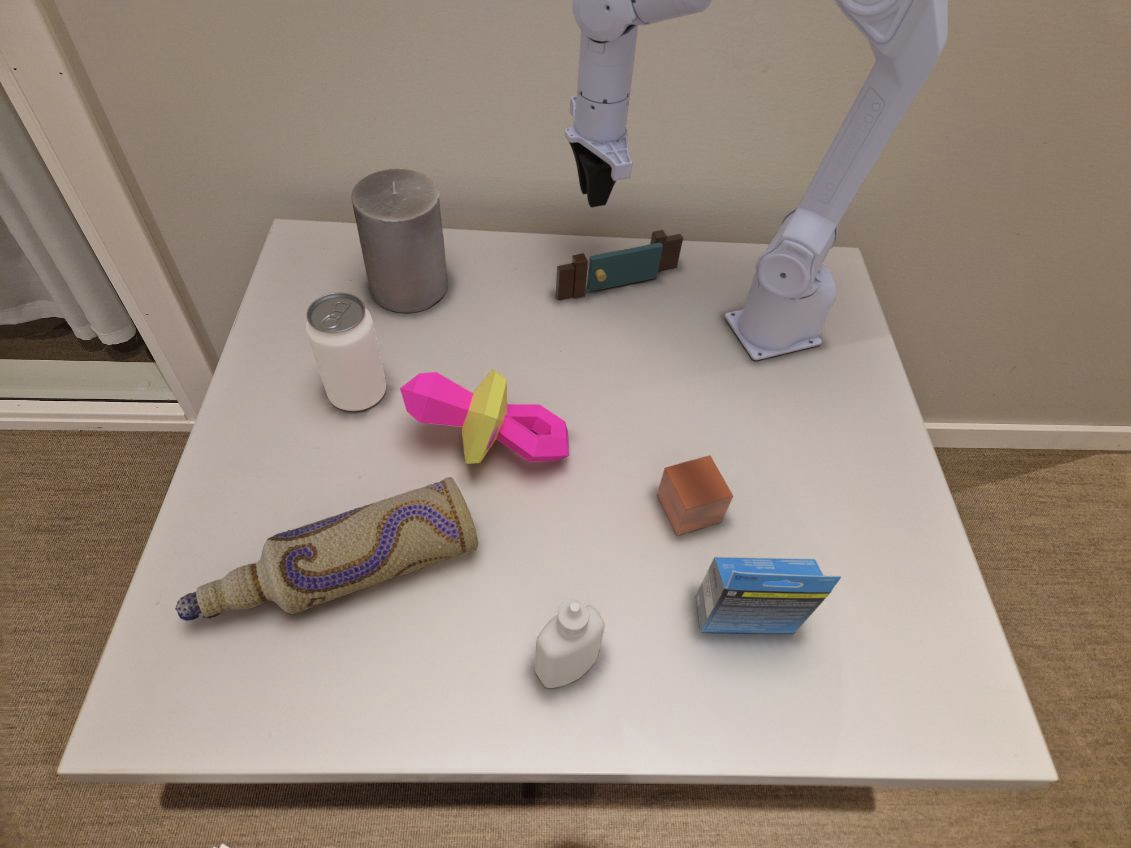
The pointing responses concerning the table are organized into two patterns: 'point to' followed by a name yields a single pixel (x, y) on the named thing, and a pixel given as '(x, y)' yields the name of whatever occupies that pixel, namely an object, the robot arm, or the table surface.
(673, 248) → the gate
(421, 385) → the toy
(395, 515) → the decorative bottle
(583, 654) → the eye dropper bottle
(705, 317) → the table surface
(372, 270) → the pillar candle
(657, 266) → the gate door
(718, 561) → the label tape box
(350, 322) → the can
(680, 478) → the block
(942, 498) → the table surface
